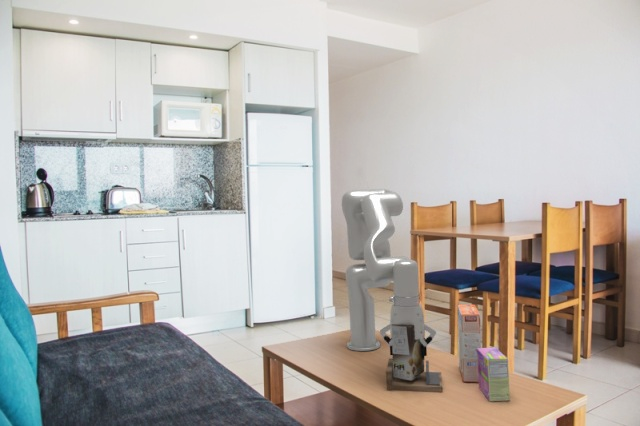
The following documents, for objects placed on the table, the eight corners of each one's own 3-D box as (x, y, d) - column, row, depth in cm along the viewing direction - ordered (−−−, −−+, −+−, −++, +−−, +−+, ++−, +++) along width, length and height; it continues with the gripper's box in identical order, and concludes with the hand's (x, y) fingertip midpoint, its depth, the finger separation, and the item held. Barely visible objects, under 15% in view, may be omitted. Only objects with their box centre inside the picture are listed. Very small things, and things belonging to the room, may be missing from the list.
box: (478, 387, 148) (476, 347, 148) (497, 386, 148) (496, 347, 147) (488, 402, 138) (487, 359, 137) (510, 401, 137) (508, 358, 137)
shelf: (389, 375, 161) (389, 358, 160) (441, 377, 157) (440, 359, 157) (386, 390, 149) (386, 371, 149) (442, 392, 146) (441, 373, 145)
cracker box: (483, 383, 151) (480, 314, 150) (462, 382, 152) (459, 313, 151) (478, 367, 165) (475, 303, 164) (459, 366, 166) (456, 303, 165)
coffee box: (412, 381, 148) (410, 327, 147) (392, 377, 152) (390, 324, 151) (425, 371, 155) (423, 319, 155) (406, 368, 159) (404, 317, 158)
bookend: (426, 373, 157) (425, 360, 157) (438, 373, 156) (438, 360, 156) (426, 385, 147) (426, 371, 147) (439, 385, 147) (439, 372, 146)
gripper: (376, 303, 151) (378, 361, 151) (436, 303, 147) (438, 362, 148) (378, 298, 158) (380, 353, 159) (435, 298, 154) (437, 354, 155)
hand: (408, 357), depth 153 cm, fingers closed on coffee box, 8 cm apart
